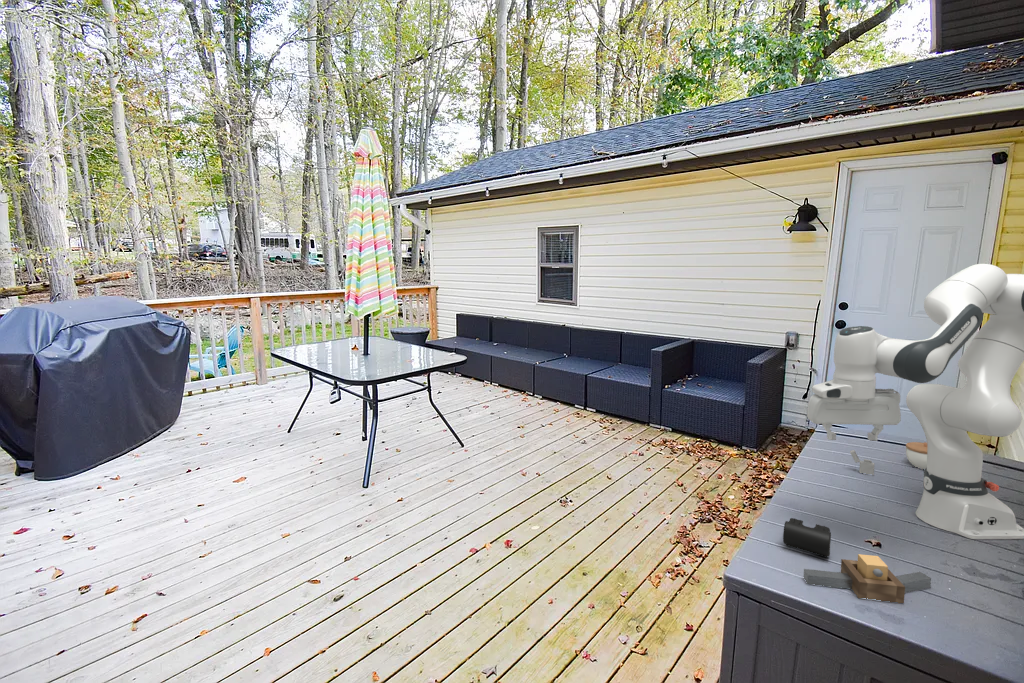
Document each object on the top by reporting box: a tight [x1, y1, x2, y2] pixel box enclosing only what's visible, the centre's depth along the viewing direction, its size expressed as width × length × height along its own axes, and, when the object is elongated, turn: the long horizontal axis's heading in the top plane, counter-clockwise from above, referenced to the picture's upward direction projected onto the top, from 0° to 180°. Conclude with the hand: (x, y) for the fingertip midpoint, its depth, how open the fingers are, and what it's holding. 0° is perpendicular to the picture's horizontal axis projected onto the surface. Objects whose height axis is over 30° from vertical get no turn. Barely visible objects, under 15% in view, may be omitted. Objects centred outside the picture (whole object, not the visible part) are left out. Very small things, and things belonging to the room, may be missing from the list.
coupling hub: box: [840, 558, 906, 604], centre depth 102 cm, size 8×8×4 cm
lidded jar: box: [905, 441, 927, 470], centre depth 164 cm, size 11×11×9 cm
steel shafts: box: [803, 568, 932, 594], centre depth 104 cm, size 26×6×2 cm, turn 76°
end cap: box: [782, 517, 832, 558], centre depth 117 cm, size 10×7×7 cm
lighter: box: [849, 449, 875, 476], centre depth 161 cm, size 7×2×8 cm, turn 51°
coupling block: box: [857, 554, 889, 581], centre depth 101 cm, size 4×5×7 cm
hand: (851, 439), depth 118 cm, fingers open, 8 cm apart
